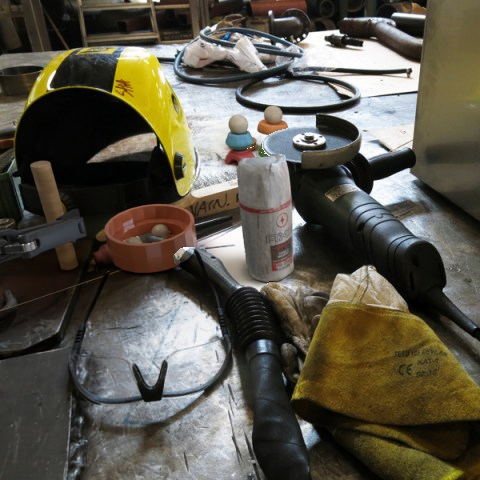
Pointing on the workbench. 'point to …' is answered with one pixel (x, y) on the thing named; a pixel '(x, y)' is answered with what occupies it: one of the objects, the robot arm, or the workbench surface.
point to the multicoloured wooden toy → (242, 138)
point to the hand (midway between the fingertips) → (28, 224)
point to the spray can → (266, 216)
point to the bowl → (142, 222)
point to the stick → (52, 208)
